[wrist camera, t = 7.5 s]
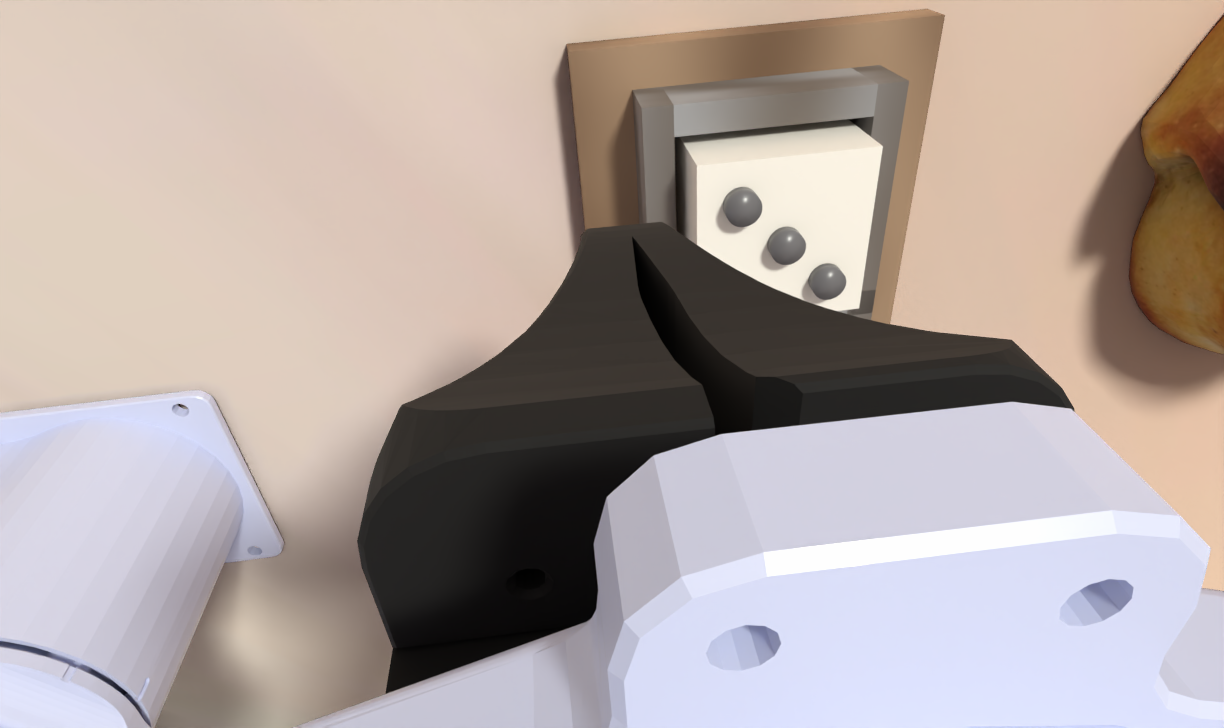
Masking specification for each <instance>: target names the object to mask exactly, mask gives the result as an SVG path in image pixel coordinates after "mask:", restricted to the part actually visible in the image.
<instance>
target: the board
mask: <svg viewBox="0 0 1224 728" xmlns="http://www.w3.org/2000/svg"><path fill="white" fill-rule="evenodd" d="M944 17H945V15H943V14H940V13H937V12H934V11H932V10H929V9H923V10H912V11H902V12H892V13H881V14H871V15H861V16H850V17H840V18H830V19H819V20H809V21H799V22H788V23H778V24H768V25H758V26H747V27H737V28H727V29H716V30H706V31H696V32H685V33H675V34H665V35H654V36H644V37H634V38H624V39H613V40H603V41H593V42H582V43H572V44H567V54H568V64H569V75H570V85H571V95H572V105H573V115H574V125H575V135H576V146H577V156H578V166H579V176H580V186H581V196H582V206H583V216H584V227H585V231H586V230H587V229H589V228H600V227H611V226H621V225H632V224H643V223H653V222H663V223H665V224H667V225H669V226H670V227H672V228H673V229H675V230H676V231H677V211H676V160H675V137H681V136H690V135H700V134H710V133H719V132H729V131H739V130H748V129H758V128H767V127H777V126H787V125H796V124H806V123H816V122H825V121H835V120H844V119H848V120H849V121H851V122H852V123H853V124H855V125H856V126H857V127H859V128H860V129H861V130H863V131H864V132H865V133H866V134H868V135H869V136H870V137H872V138H873V139H874V140H876V141H877V142H878V143H879V144H881V145H882V146H883V149H882V156H881V163H880V169H879V176H878V183H877V190H876V197H875V203H874V210H873V217H872V224H871V231H870V237H869V244H868V251H867V258H866V265H865V271H864V278H863V285H862V292H861V299H860V305H859V309H850V310H842V311H838V312H842V313H845V314H849V315H852V316H856V317H859V318H864V319H868V320H872V321H877V322H881V323H886V324H890V320H891V315H892V309H893V304H894V298H895V292H896V287H897V281H898V276H899V270H900V264H901V259H902V253H903V247H904V242H905V236H906V231H907V225H908V219H909V214H910V208H911V203H912V197H913V191H914V186H915V180H916V174H917V169H918V163H919V158H920V152H921V146H922V141H923V135H924V130H925V124H926V118H927V113H928V107H929V101H930V96H931V90H932V85H933V79H934V73H935V68H936V62H937V57H938V51H939V45H940V40H941V34H942V28H943V23H944Z"/></svg>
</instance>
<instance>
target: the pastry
mask: <svg viewBox="0 0 1224 728" xmlns="http://www.w3.org/2000/svg"><path fill="white" fill-rule="evenodd" d="M1141 138H1142V141H1143V148H1144V155H1145V157H1146V160H1147V162H1148V164H1149V165H1150V166H1151V167H1152V168H1153V170H1154V172H1155V184H1154V187H1153V190H1152V193H1151V196H1150V199H1149V201H1148V204H1147V206H1146V208H1145V211H1144V213H1143V215H1142V218H1141V220H1140V223H1139V226H1138V228H1137V230H1136V233H1135V236H1134V238H1133V243H1132V251H1131V260H1130V271H1129V279H1130V285H1131V291H1132V294H1133V296H1134V298H1135V300H1136V302H1137V304H1138V306H1139V307H1140V309H1141V310H1142V311H1143V313H1144V314H1145V315H1146V317H1147V318H1148V319H1149V321H1151V322H1152V323H1153V324H1154V325H1155V326H1157V327H1158V328H1159V329H1161V330H1163V331H1164V332H1166V333H1168V334H1170V335H1171V336H1173V337H1175V338H1177V339H1179V340H1180V341H1182V342H1184V343H1187V344H1190V345H1194V346H1197V347H1200V348H1203V349H1206V350H1210V351H1213V352H1216V353H1220V354H1224V16H1223V17H1222V18H1221V20H1220V21H1219V22H1218V23H1217V24H1216V26H1215V27H1214V28H1213V29H1212V30H1211V32H1210V33H1209V34H1208V35H1207V37H1206V38H1205V39H1204V40H1203V42H1202V43H1201V44H1200V45H1199V46H1198V48H1197V49H1196V50H1195V52H1194V53H1193V54H1192V56H1191V57H1190V58H1189V60H1188V61H1187V62H1186V64H1185V65H1184V67H1183V68H1182V69H1181V71H1180V72H1179V73H1178V75H1177V76H1176V77H1175V79H1174V80H1173V82H1172V83H1171V84H1170V86H1169V87H1168V88H1167V89H1166V90H1165V91H1164V93H1163V94H1162V95H1161V96H1160V97H1159V98H1158V100H1157V101H1156V102H1155V103H1154V104H1153V105H1152V107H1151V108H1150V110H1149V111H1148V113H1147V114H1146V115H1145V117H1144V118H1143V121H1142V126H1141Z"/></svg>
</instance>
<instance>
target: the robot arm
mask: <svg viewBox="0 0 1224 728" xmlns="http://www.w3.org/2000/svg"><path fill="white" fill-rule="evenodd" d="M178 404H182V405H184V406H186V407H187V408H188V409H183V408H181V407H179V406H178ZM357 542H358V548H359V554H360V559H361V565H362V569H363V571H364V574H365V576H366V579H367V582H368V584H369V587H370V590H371V592H372V595H373V597H374V600H375V603H376V605H377V608H378V610H379V613H380V616H381V618H382V621H383V623H384V626H385V629H386V631H387V634H388V637H389V639H390V642H391V644H392V647H393V651H392V658H391V664H390V670H389V676H388V682H387V688H386V694H384V695H381V696H379V697H376V698H373V699H370V700H368V701H365V702H362V703H359V704H356V705H354V706H351V707H348V708H345V709H343V710H340V711H337V712H334V713H331V714H329V715H326V716H323V717H320V718H317V719H315V720H312V721H309V722H306V723H304V724H301V725H298V726H295V727H292V728H1224V591H1220V590H1213V589H1206V588H1202V584H1203V580H1204V576H1205V573H1206V569H1207V564H1208V559H1209V555H1210V550H1211V548H1210V547H1209V546H1208V545H1207V544H1206V543H1205V542H1204V541H1203V539H1202V538H1201V537H1200V536H1199V535H1198V534H1197V533H1196V532H1195V531H1194V530H1193V529H1192V528H1191V527H1190V526H1189V525H1188V524H1187V523H1186V522H1185V520H1184V519H1183V518H1182V517H1181V516H1180V515H1179V514H1178V513H1177V512H1176V511H1175V510H1174V509H1173V508H1172V507H1171V506H1170V505H1169V504H1168V503H1167V502H1166V501H1164V500H1163V499H1162V498H1161V497H1160V496H1159V495H1158V494H1157V493H1156V492H1155V491H1154V490H1153V489H1152V488H1151V487H1150V486H1149V485H1148V484H1147V483H1146V482H1145V481H1144V480H1143V479H1142V478H1141V477H1140V476H1139V475H1138V474H1137V473H1136V472H1135V471H1134V470H1133V469H1132V468H1131V467H1130V466H1129V465H1128V464H1127V463H1126V462H1125V461H1124V460H1123V459H1122V458H1121V457H1120V456H1119V455H1118V454H1117V453H1116V452H1115V451H1114V450H1113V449H1112V448H1111V447H1110V446H1108V445H1107V444H1106V443H1105V442H1104V441H1103V440H1102V439H1101V438H1100V437H1099V436H1098V435H1097V434H1096V433H1095V432H1094V431H1093V430H1092V429H1091V428H1090V427H1089V426H1088V425H1087V424H1086V423H1085V422H1084V421H1083V420H1082V419H1081V418H1080V417H1079V416H1078V415H1077V414H1076V413H1075V412H1074V407H1073V406H1072V404H1071V402H1070V401H1069V399H1068V397H1067V396H1066V394H1065V393H1064V391H1063V389H1062V388H1061V387H1060V386H1059V385H1058V384H1057V383H1056V382H1055V381H1054V380H1053V379H1052V378H1051V377H1050V376H1049V375H1048V374H1047V373H1046V372H1045V371H1044V370H1043V369H1042V368H1041V367H1039V366H1038V365H1037V364H1036V363H1035V362H1034V361H1033V360H1032V359H1031V358H1030V357H1029V356H1028V355H1027V354H1026V353H1025V352H1024V351H1023V350H1022V349H1021V348H1020V347H1019V346H1018V345H1017V344H1015V343H1014V342H1013V341H1012V340H1008V339H998V338H988V337H978V336H968V335H958V334H948V333H938V332H931V331H924V330H919V329H913V328H908V327H902V326H897V325H891V324H886V323H881V322H877V321H872V320H868V319H864V318H859V317H856V316H852V315H849V314H845V313H842V312H838V311H835V310H831V309H828V308H824V307H821V306H818V305H815V304H812V303H809V302H807V301H804V300H801V299H799V298H796V297H794V296H791V295H789V294H786V293H784V292H781V291H779V290H776V289H774V288H772V287H770V286H768V285H765V284H763V283H761V282H759V281H757V280H755V279H754V278H752V277H750V276H748V275H746V274H744V273H742V272H740V271H738V270H737V269H735V268H733V267H731V266H730V265H728V264H726V263H725V262H723V261H721V260H720V259H718V258H716V257H715V256H713V255H712V254H710V253H709V252H707V251H705V250H704V249H702V248H701V247H699V246H698V245H696V244H695V243H694V242H692V241H691V240H689V239H688V238H686V237H685V236H683V235H682V234H680V233H679V232H678V231H676V230H675V229H673V228H672V227H670V226H669V225H667V224H665V223H663V222H653V223H643V224H632V225H621V226H611V227H600V228H589V229H587V230H586V231H585V232H584V233H583V234H582V235H581V243H580V246H579V249H578V252H577V255H576V257H575V260H574V262H573V264H572V266H571V268H570V270H569V272H568V274H567V276H566V278H565V279H564V281H563V283H562V285H561V286H560V288H559V289H558V291H557V292H556V294H555V295H554V297H553V298H552V300H551V301H550V303H549V304H548V306H547V307H546V308H545V310H544V311H543V312H542V314H541V315H540V316H539V317H538V318H537V320H536V321H535V322H534V323H533V324H532V325H531V326H530V327H529V328H528V330H527V331H526V332H525V333H523V334H522V335H521V336H520V337H519V338H517V339H516V340H515V341H514V342H513V343H511V344H510V345H509V346H508V347H507V348H505V349H504V350H503V351H502V352H501V353H499V354H498V355H497V356H495V357H494V358H492V359H491V360H489V361H488V362H486V363H485V364H483V365H482V366H480V367H479V368H477V369H475V370H474V371H472V372H470V373H469V374H467V375H465V376H463V377H462V378H460V379H458V380H456V381H454V382H452V383H450V384H448V385H446V386H444V387H442V388H439V389H437V390H435V391H433V392H431V393H429V394H426V395H424V396H422V397H420V398H418V399H415V400H413V401H411V402H408V403H405V404H403V405H402V406H401V407H400V409H399V411H398V413H397V415H396V418H395V420H394V422H393V424H392V427H391V429H390V431H389V433H388V436H387V438H386V440H385V442H384V445H383V447H382V449H381V452H380V454H379V456H378V459H377V462H376V464H375V468H374V471H373V474H372V477H371V481H370V485H369V490H368V494H367V499H366V504H365V508H364V513H363V518H362V522H361V527H360V531H359V536H358V540H357ZM254 546H256V547H254ZM283 546H284V541H283V539H282V537H281V535H280V533H279V531H278V529H277V527H276V525H275V522H274V520H273V518H272V516H271V514H270V512H269V510H268V508H267V506H266V504H265V502H264V500H263V498H262V496H261V494H260V492H259V490H258V488H257V486H256V484H255V482H254V480H253V477H252V475H251V473H250V471H249V469H248V467H247V465H246V463H245V461H244V459H243V457H242V455H241V453H240V451H239V449H238V447H237V445H236V443H235V441H234V439H233V437H232V434H231V432H230V430H229V428H228V426H227V424H226V422H225V420H224V418H223V416H222V414H221V412H220V410H219V408H218V406H217V404H216V402H215V400H214V399H213V397H212V396H211V395H209V394H208V393H206V392H203V391H200V390H192V391H183V392H174V393H166V394H157V395H149V396H140V397H132V398H123V399H115V400H106V401H97V402H89V403H80V404H72V405H63V406H55V407H46V408H38V409H29V410H20V411H12V412H3V413H0V728H154V727H155V725H156V723H157V720H158V718H159V716H160V713H161V711H162V709H163V706H164V704H165V701H166V699H167V697H168V694H169V692H170V690H171V687H172V685H173V683H174V680H175V678H176V676H177V673H178V671H179V668H180V666H181V664H182V661H183V659H184V657H185V654H186V652H187V650H188V647H189V645H190V643H191V640H192V638H193V635H194V633H195V631H196V628H197V626H198V624H199V621H200V619H201V617H202V614H203V612H204V609H205V607H206V605H207V602H208V600H209V598H210V595H211V593H212V591H213V588H214V586H215V584H216V581H217V579H218V576H219V574H220V572H221V569H222V567H223V565H224V563H229V562H236V561H244V560H252V559H260V558H268V557H274V556H277V555H279V554H280V553H281V551H282V549H283ZM257 547H259V548H257Z"/></svg>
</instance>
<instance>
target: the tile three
mask: <svg viewBox="0 0 1224 728" xmlns="http://www.w3.org/2000/svg"><path fill="white" fill-rule="evenodd" d="M882 149H883V146H882V145H881V144H879V143H878V142H877V141H876V140H874V139H873V138H872V137H870V136H869V135H868V134H866V133H865V132H864V131H863V130H861V129H860V128H859V127H857V126H856V125H855V124H853V123H852V122H851V121H849V120H848V119H844V120H835V121H825V122H816V123H806V124H796V125H787V126H777V127H767V128H758V129H748V130H739V131H729V132H719V133H710V134H700V135H690V136H681V137H675V160H676V211H677V231H678V232H679V233H680V234H682V235H683V236H685V237H686V238H688V239H689V240H691V241H692V242H694V243H695V244H696V245H698V246H699V247H701V248H702V249H704V250H705V251H707V252H709V253H710V254H712V255H713V256H715V257H716V258H718V259H720V260H721V261H723V262H725V263H726V264H728V265H730V266H731V267H733V268H735V269H737V270H738V271H740V272H742V273H744V274H746V275H748V276H750V277H752V278H754V279H755V280H757V281H759V282H761V283H763V284H765V285H768V286H770V287H772V288H774V289H776V290H779V291H781V292H784V293H786V294H789V295H791V296H794V297H796V298H799V299H801V300H804V301H807V302H809V303H812V304H815V305H818V306H821V307H824V308H828V309H831V310H835V311H842V310H850V309H859V305H860V299H861V292H862V285H863V278H864V271H865V265H866V258H867V251H868V244H869V237H870V231H871V224H872V217H873V210H874V203H875V197H876V190H877V183H878V176H879V169H880V163H881V156H882Z"/></svg>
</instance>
